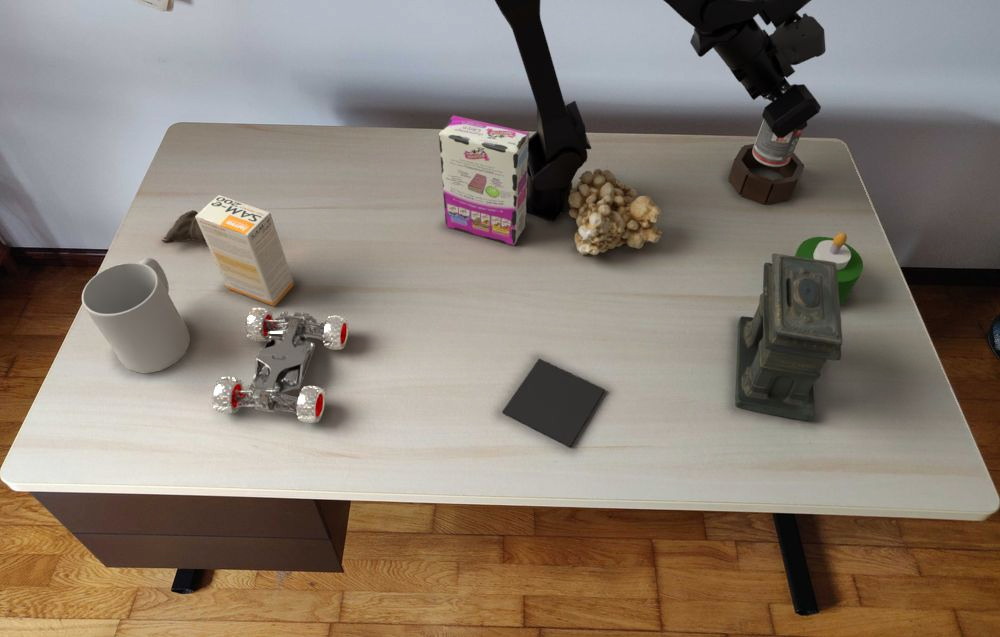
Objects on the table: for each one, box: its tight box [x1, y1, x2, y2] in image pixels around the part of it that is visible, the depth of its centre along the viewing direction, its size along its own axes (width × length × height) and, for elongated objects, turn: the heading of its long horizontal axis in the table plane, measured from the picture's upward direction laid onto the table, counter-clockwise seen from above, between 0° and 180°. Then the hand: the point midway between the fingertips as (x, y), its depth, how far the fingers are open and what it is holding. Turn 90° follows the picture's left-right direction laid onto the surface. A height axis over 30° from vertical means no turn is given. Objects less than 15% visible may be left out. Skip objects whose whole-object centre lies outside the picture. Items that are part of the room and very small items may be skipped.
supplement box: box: [195, 194, 295, 307], centre depth 90 cm, size 8×5×13 cm, turn 65°
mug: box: [81, 257, 191, 374], centre depth 85 cm, size 12×8×11 cm
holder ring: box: [727, 143, 805, 206], centre depth 108 cm, size 10×10×4 cm
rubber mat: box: [502, 358, 605, 449], centre depth 83 cm, size 9×9×1 cm
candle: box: [794, 232, 864, 307], centre depth 92 cm, size 8×8×10 cm
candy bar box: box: [438, 114, 530, 246], centre depth 96 cm, size 11×5×16 cm, turn 68°
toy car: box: [211, 307, 350, 424], centre depth 84 cm, size 15×12×5 cm
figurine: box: [161, 209, 207, 244], centre depth 99 cm, size 6×4×12 cm
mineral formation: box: [568, 168, 662, 256], centre depth 100 cm, size 8×13×15 cm
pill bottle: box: [753, 90, 804, 167], centre depth 102 cm, size 6×6×10 cm
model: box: [734, 253, 844, 422], centre depth 81 cm, size 14×9×15 cm, turn 168°
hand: (795, 115), depth 100 cm, fingers closed on pill bottle, 5 cm apart
